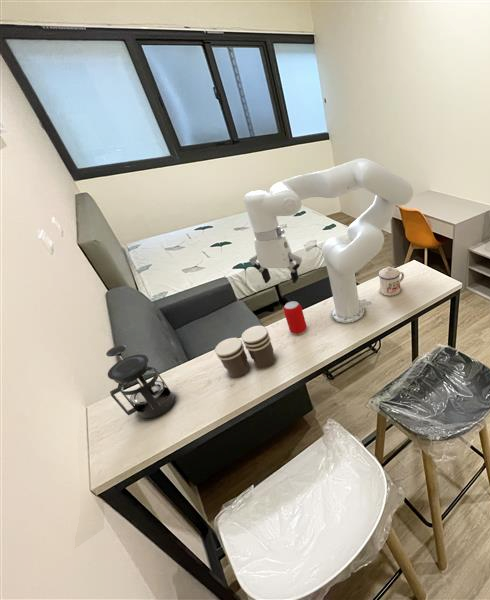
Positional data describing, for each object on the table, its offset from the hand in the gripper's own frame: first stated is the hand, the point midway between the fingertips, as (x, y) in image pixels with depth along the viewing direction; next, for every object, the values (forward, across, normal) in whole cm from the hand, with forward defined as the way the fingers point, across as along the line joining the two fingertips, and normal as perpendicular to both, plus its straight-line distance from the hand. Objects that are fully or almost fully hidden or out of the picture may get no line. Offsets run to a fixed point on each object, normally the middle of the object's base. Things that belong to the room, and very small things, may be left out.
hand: (281, 281), depth 109 cm
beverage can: (+22, -1, 0) cm, 22 cm away
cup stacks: (+22, +9, +18) cm, 30 cm away
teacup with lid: (+22, -34, -29) cm, 50 cm away
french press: (+22, +30, +35) cm, 52 cm away
